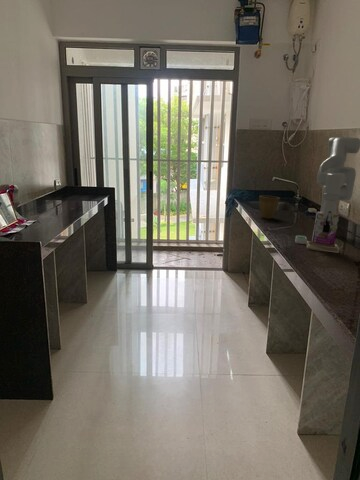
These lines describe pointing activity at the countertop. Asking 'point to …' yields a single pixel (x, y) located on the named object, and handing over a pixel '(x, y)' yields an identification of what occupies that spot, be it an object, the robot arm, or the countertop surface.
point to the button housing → (300, 240)
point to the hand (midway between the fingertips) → (324, 230)
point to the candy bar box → (324, 236)
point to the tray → (322, 247)
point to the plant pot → (268, 205)
